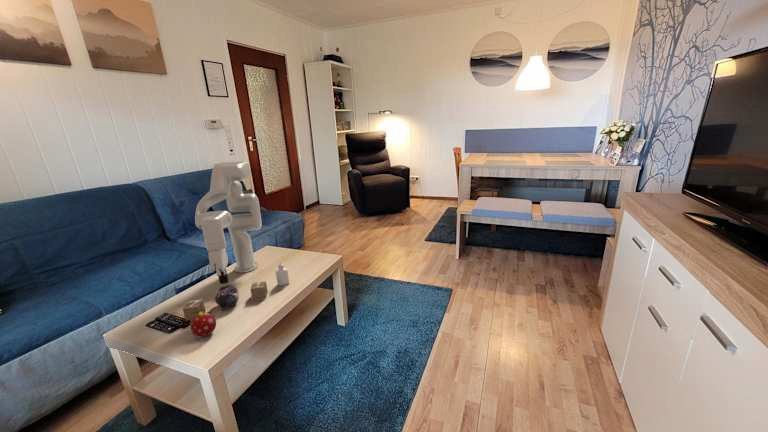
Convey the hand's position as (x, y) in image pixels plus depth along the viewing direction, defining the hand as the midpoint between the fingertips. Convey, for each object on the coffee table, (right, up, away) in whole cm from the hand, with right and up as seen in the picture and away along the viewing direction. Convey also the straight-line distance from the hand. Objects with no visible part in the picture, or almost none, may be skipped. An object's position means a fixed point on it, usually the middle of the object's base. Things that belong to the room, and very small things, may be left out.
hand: (224, 282), depth 138 cm
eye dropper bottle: (+20, -5, +20) cm, 29 cm away
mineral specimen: (0, -11, +3) cm, 11 cm away
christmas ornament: (+1, -17, -17) cm, 24 cm away
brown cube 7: (-10, -13, -4) cm, 17 cm away
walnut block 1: (+12, -8, +9) cm, 18 cm away
